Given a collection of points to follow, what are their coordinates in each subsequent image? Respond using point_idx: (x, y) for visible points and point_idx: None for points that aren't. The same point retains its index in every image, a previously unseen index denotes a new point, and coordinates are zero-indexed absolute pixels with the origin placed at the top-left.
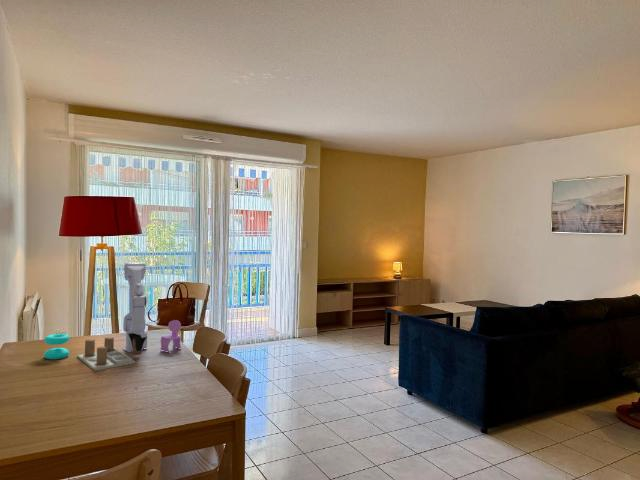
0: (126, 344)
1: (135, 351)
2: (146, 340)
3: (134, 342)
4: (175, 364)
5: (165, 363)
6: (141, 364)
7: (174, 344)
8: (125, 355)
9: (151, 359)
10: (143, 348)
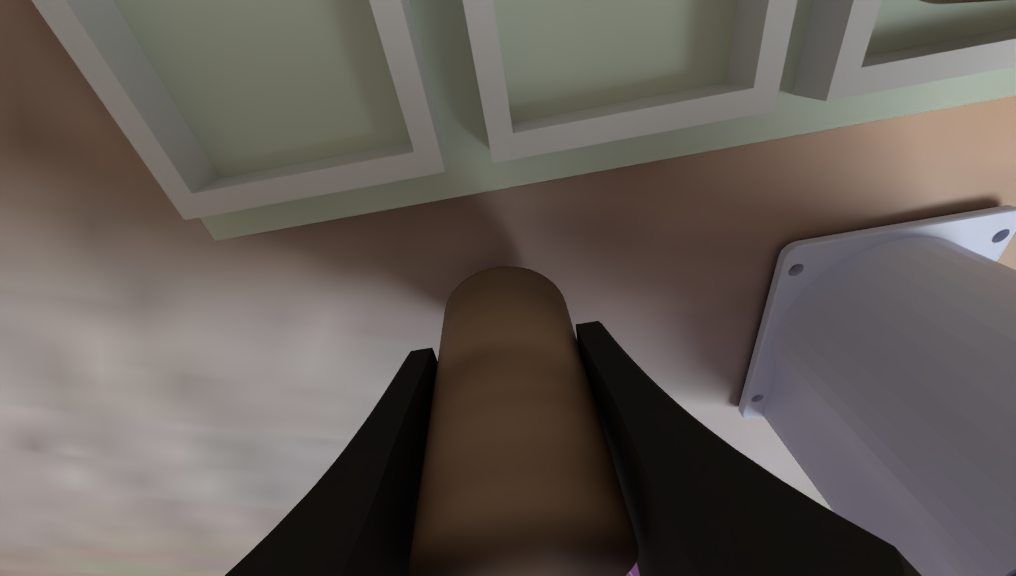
0: (981, 279)
1: (448, 328)
2: (825, 495)
3: (448, 458)
4: (165, 496)
5: (203, 454)
6: (179, 285)
7: (631, 569)
8: (430, 154)
9: (373, 390)
10: (769, 394)
